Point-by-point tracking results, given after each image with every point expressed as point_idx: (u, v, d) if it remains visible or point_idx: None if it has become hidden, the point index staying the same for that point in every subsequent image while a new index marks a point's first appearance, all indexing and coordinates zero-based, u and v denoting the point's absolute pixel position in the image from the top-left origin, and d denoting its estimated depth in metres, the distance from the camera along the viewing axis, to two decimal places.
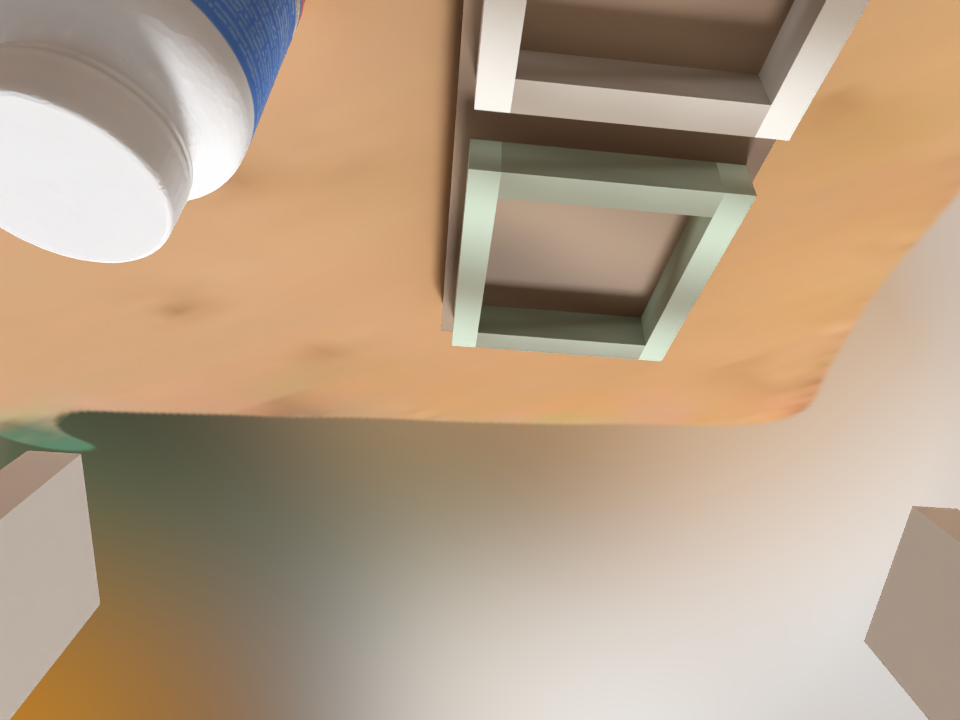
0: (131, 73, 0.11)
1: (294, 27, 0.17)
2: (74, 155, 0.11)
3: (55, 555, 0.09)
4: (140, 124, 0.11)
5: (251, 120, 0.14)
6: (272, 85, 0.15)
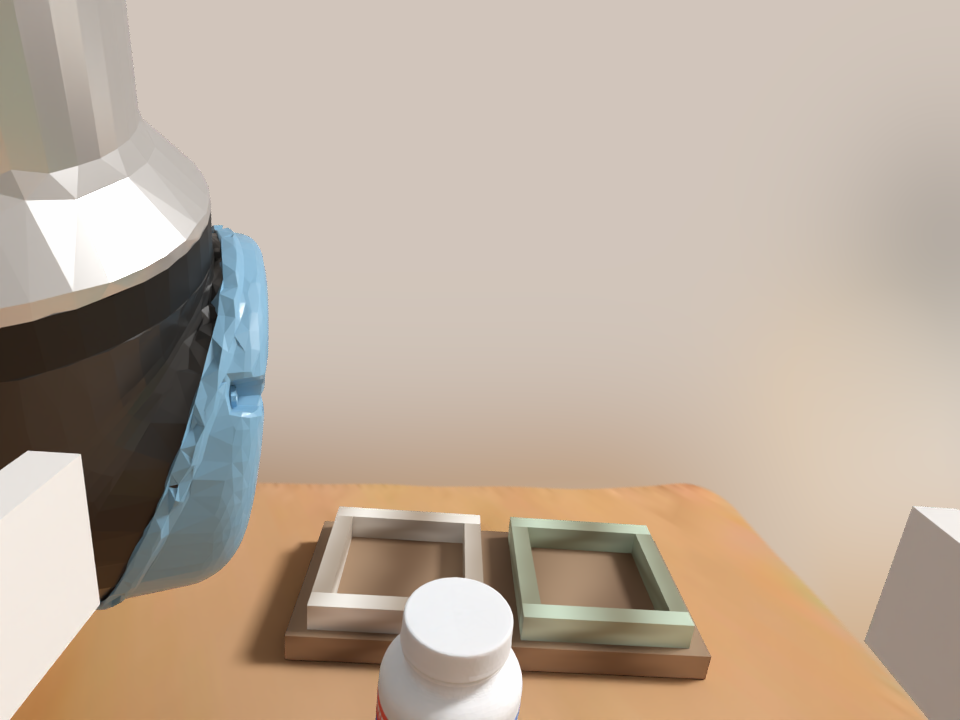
0: None
1: None
2: (437, 597, 0.23)
3: (55, 555, 0.09)
4: None
5: None
6: None
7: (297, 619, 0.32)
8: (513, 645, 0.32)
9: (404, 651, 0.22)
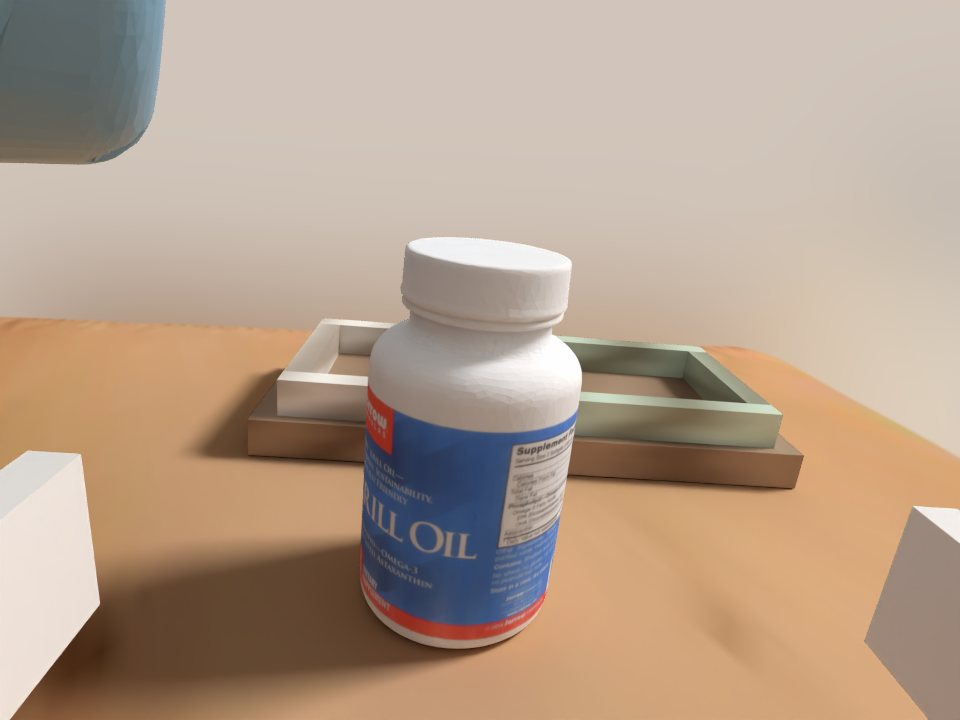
0: None
1: None
2: (455, 243, 0.15)
3: (55, 555, 0.09)
4: None
5: None
6: None
7: (265, 407, 0.25)
8: None
9: (407, 293, 0.14)
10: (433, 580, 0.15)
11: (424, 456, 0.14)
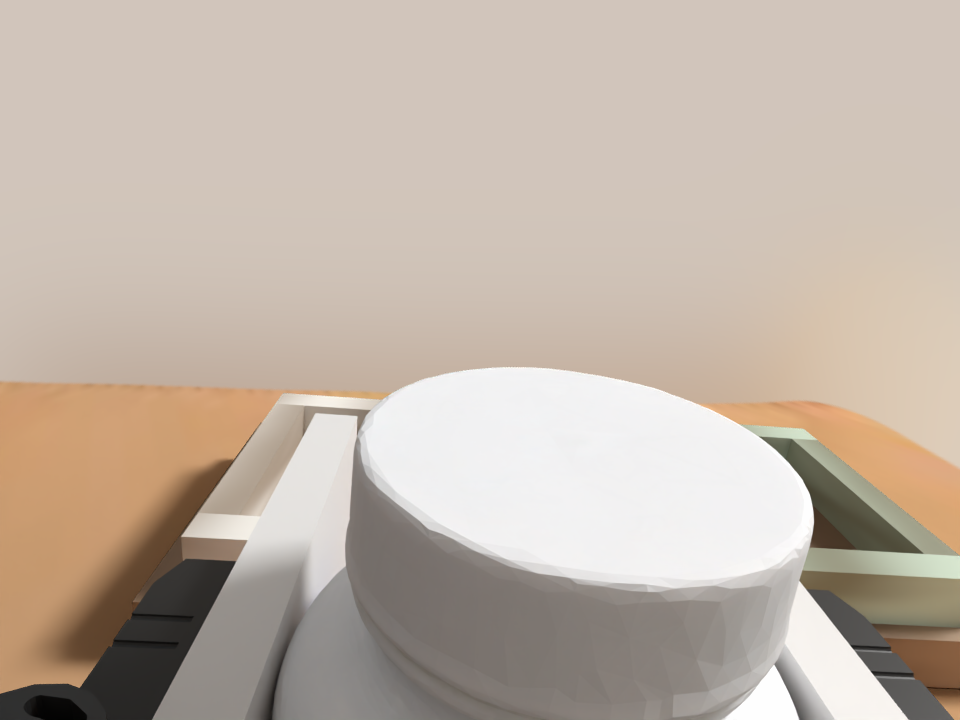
0: None
1: None
2: (484, 402, 0.06)
3: (348, 496, 0.11)
4: None
5: None
6: None
7: (169, 570, 0.16)
8: None
9: (357, 586, 0.05)
10: None
11: None
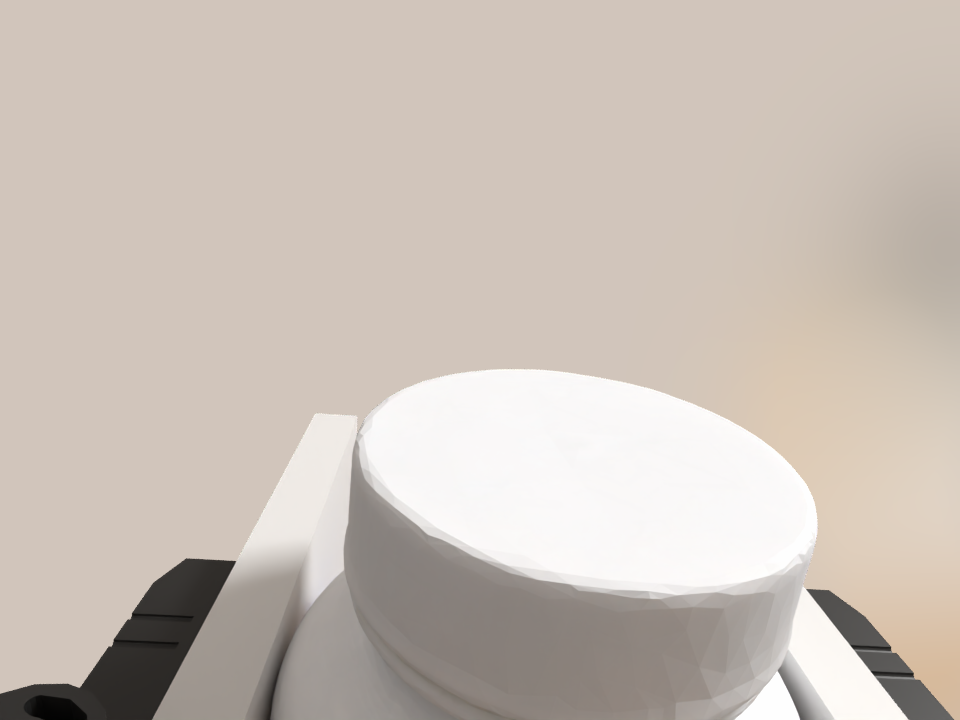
0: None
1: None
2: (485, 406, 0.06)
3: (348, 496, 0.11)
4: None
5: None
6: None
7: None
8: None
9: (355, 591, 0.05)
10: None
11: None
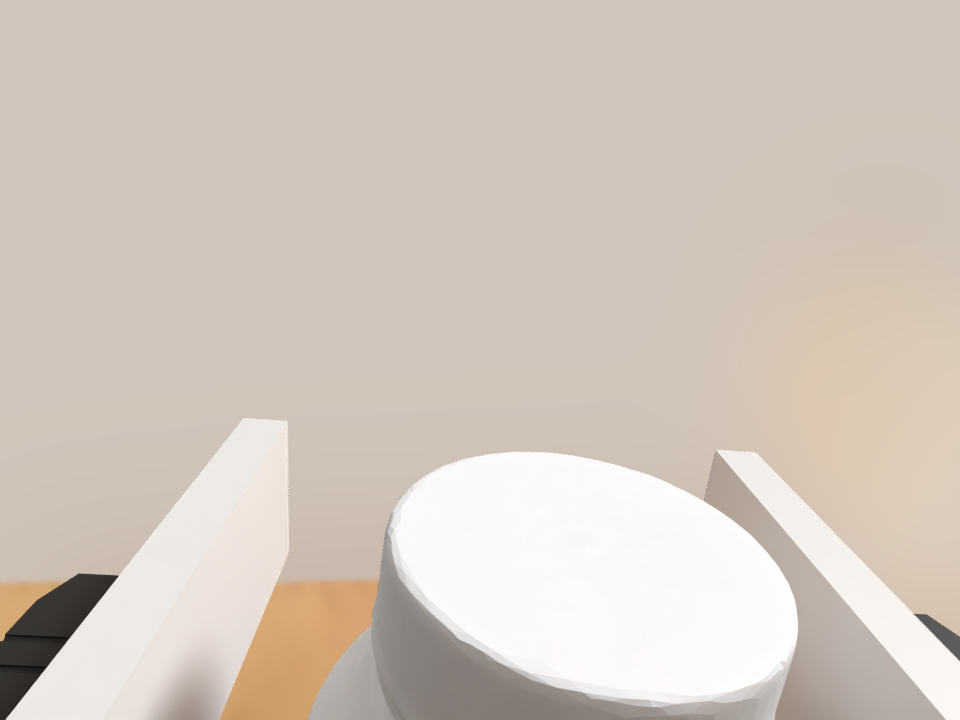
0: None
1: None
2: (500, 495, 0.07)
3: (275, 504, 0.10)
4: None
5: None
6: None
7: None
8: None
9: (385, 675, 0.06)
10: None
11: None
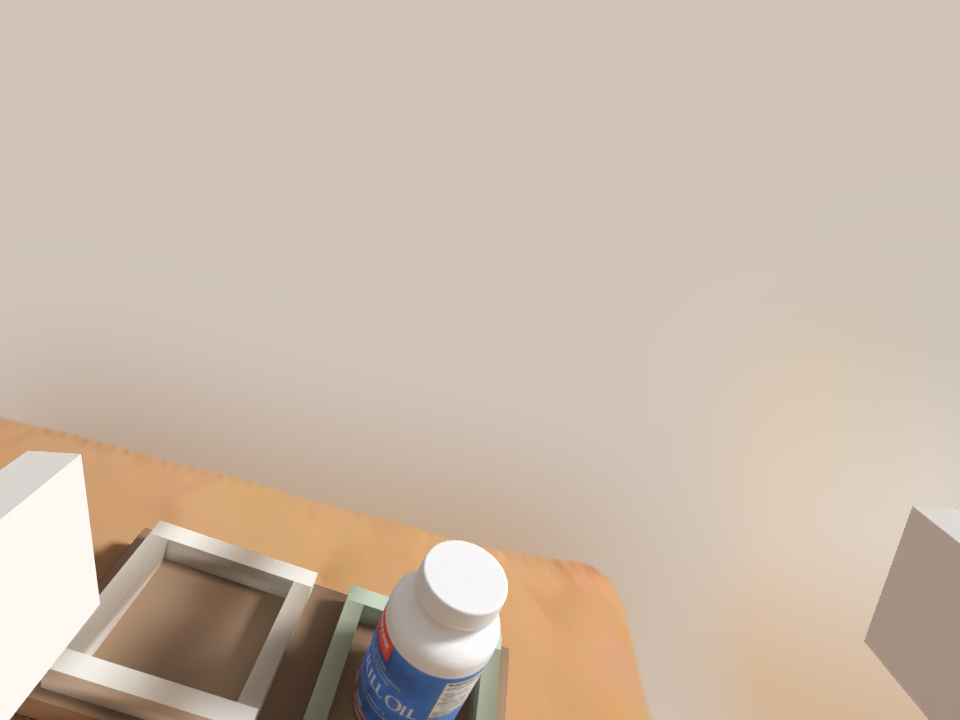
0: None
1: None
2: (451, 556, 0.28)
3: (55, 555, 0.09)
4: None
5: None
6: None
7: None
8: None
9: (416, 591, 0.27)
10: None
11: (402, 673, 0.27)
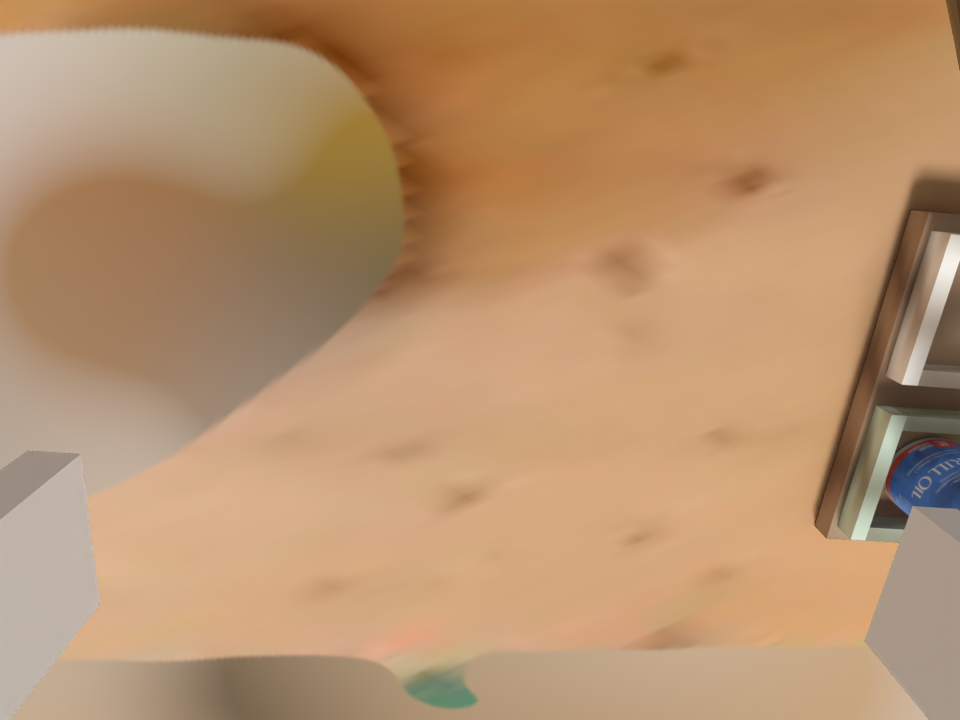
0: None
1: None
2: None
3: (55, 555, 0.09)
4: None
5: None
6: None
7: (945, 220, 0.36)
8: (872, 398, 0.39)
9: None
10: (909, 477, 0.39)
11: (952, 498, 0.36)
